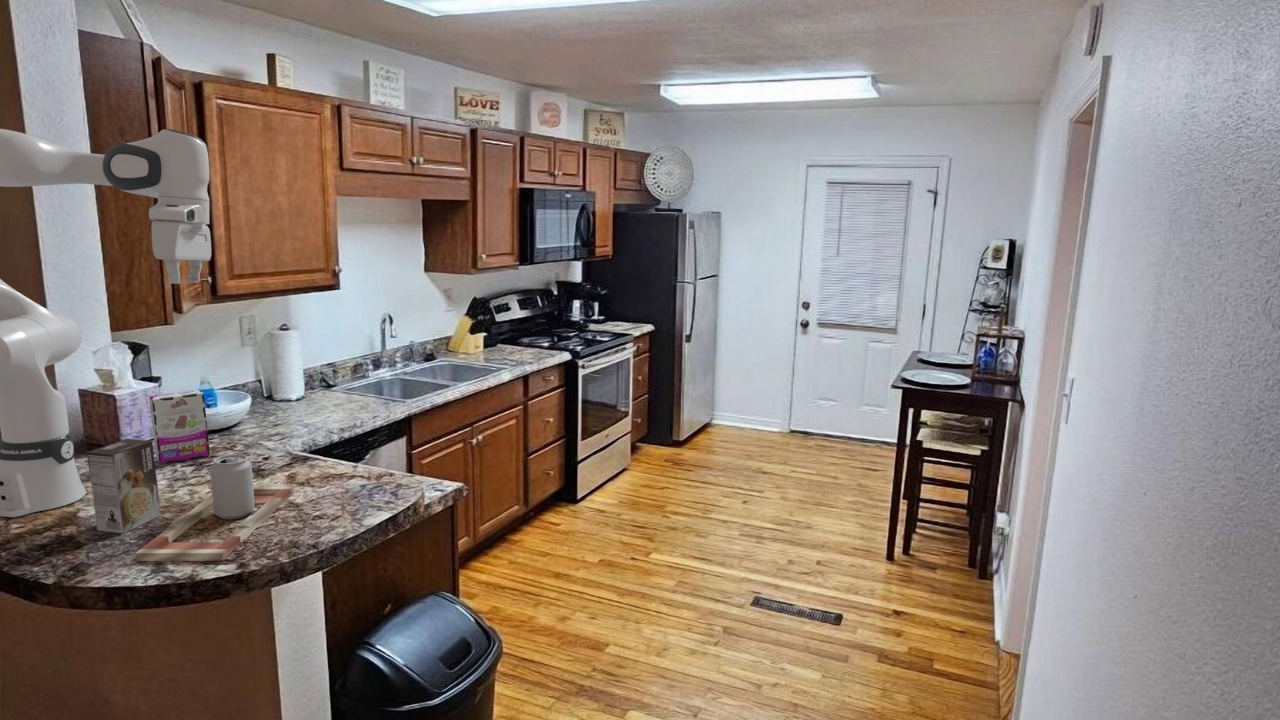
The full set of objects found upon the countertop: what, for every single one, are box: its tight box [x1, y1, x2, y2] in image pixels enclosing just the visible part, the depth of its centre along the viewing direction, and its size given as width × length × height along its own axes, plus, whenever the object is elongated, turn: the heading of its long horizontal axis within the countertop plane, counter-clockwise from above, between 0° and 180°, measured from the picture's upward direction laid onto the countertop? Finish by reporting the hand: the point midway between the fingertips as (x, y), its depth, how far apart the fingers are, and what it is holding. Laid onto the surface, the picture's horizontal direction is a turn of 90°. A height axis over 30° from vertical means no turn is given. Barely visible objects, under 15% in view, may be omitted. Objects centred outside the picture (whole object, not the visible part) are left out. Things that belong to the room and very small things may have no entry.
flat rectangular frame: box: [134, 486, 295, 562], centre depth 153 cm, size 15×33×2 cm, turn 4°
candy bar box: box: [148, 389, 211, 465], centre depth 188 cm, size 11×5×16 cm, turn 131°
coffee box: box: [86, 438, 162, 534], centre depth 150 cm, size 9×6×16 cm
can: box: [209, 453, 256, 520], centre depth 156 cm, size 8×8×12 cm
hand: (184, 283), depth 155 cm, fingers open, 8 cm apart
